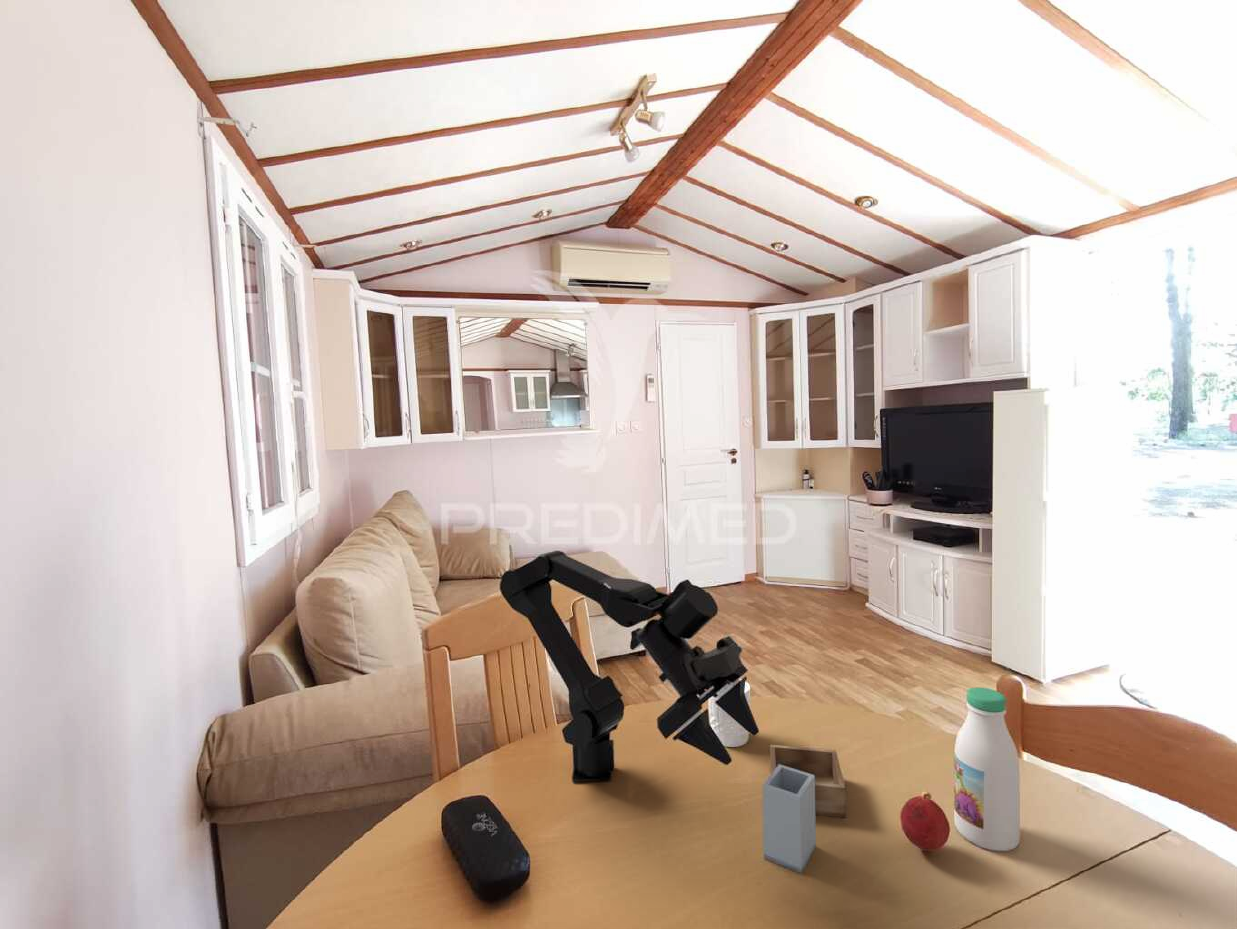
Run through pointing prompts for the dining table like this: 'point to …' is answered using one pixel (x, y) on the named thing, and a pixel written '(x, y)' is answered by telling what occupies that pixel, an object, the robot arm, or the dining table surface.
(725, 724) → the white cup
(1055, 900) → the dining table surface
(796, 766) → the big crate
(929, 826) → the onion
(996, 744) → the milk bottle
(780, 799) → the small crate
